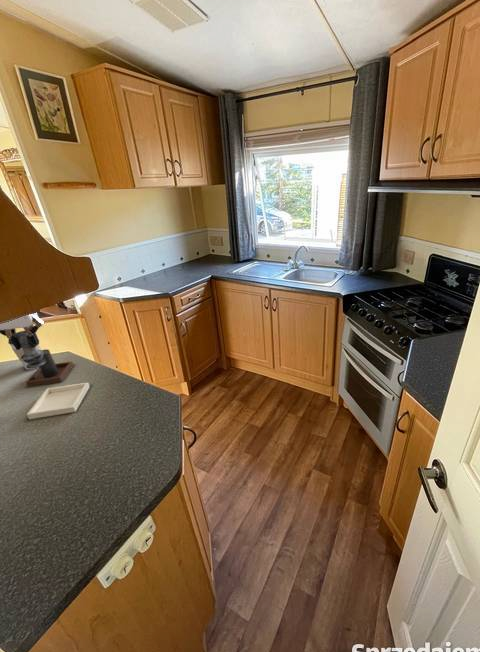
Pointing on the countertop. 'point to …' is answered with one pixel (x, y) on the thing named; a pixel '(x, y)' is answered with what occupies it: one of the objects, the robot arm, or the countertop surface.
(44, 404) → the light tray
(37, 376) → the dark tray
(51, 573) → the countertop surface
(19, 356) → the coffee cup
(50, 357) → the dark gray cylinder
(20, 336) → the marbled chess pawn
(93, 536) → the countertop surface
